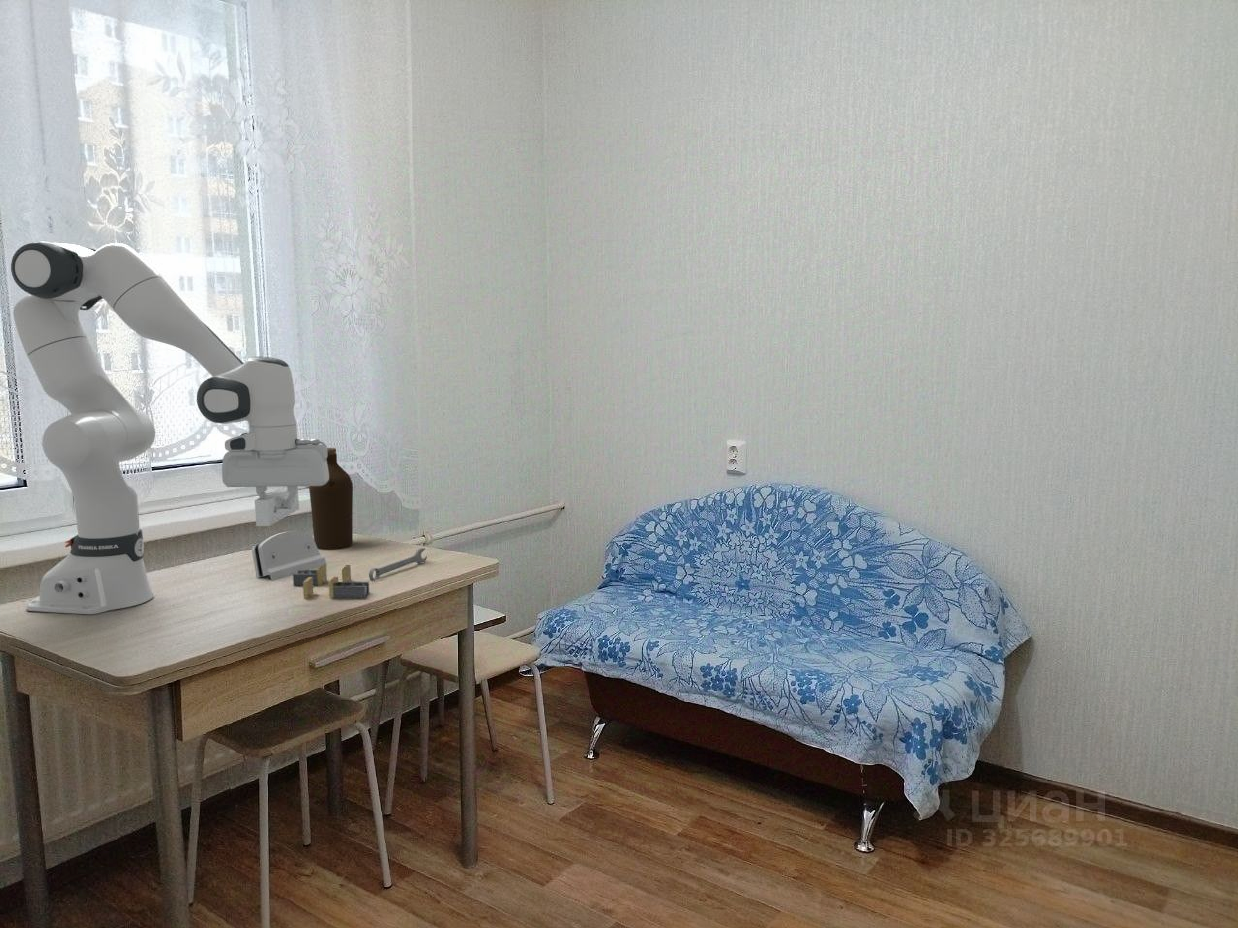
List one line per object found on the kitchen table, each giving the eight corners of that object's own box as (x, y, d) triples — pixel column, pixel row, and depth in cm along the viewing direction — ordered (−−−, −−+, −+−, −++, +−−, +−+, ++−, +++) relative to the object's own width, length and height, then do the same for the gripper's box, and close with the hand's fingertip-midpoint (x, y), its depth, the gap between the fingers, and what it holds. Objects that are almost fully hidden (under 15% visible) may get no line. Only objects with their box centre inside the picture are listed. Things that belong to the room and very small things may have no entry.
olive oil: (363, 544, 242) (359, 448, 239) (327, 552, 234) (322, 452, 231) (340, 538, 249) (335, 444, 245) (303, 545, 241) (299, 448, 237)
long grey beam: (256, 526, 180) (254, 500, 179) (286, 509, 197) (285, 485, 196) (269, 525, 180) (268, 500, 179) (299, 508, 197) (297, 485, 196)
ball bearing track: (278, 598, 194) (277, 582, 194) (299, 580, 208) (298, 565, 208) (364, 598, 195) (364, 581, 194) (380, 580, 208) (379, 564, 208)
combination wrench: (371, 567, 207) (429, 546, 225) (367, 567, 208) (425, 546, 225) (372, 584, 208) (430, 562, 225) (368, 583, 208) (425, 561, 226)
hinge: (271, 580, 208) (258, 537, 208) (257, 585, 210) (244, 542, 211) (327, 564, 223) (315, 523, 223) (314, 568, 225) (302, 528, 225)
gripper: (331, 437, 189) (335, 504, 191) (229, 438, 189) (234, 506, 191) (321, 440, 183) (325, 510, 185) (216, 442, 183) (221, 512, 185)
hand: (278, 508), depth 188 cm, fingers closed on long grey beam, 2 cm apart
